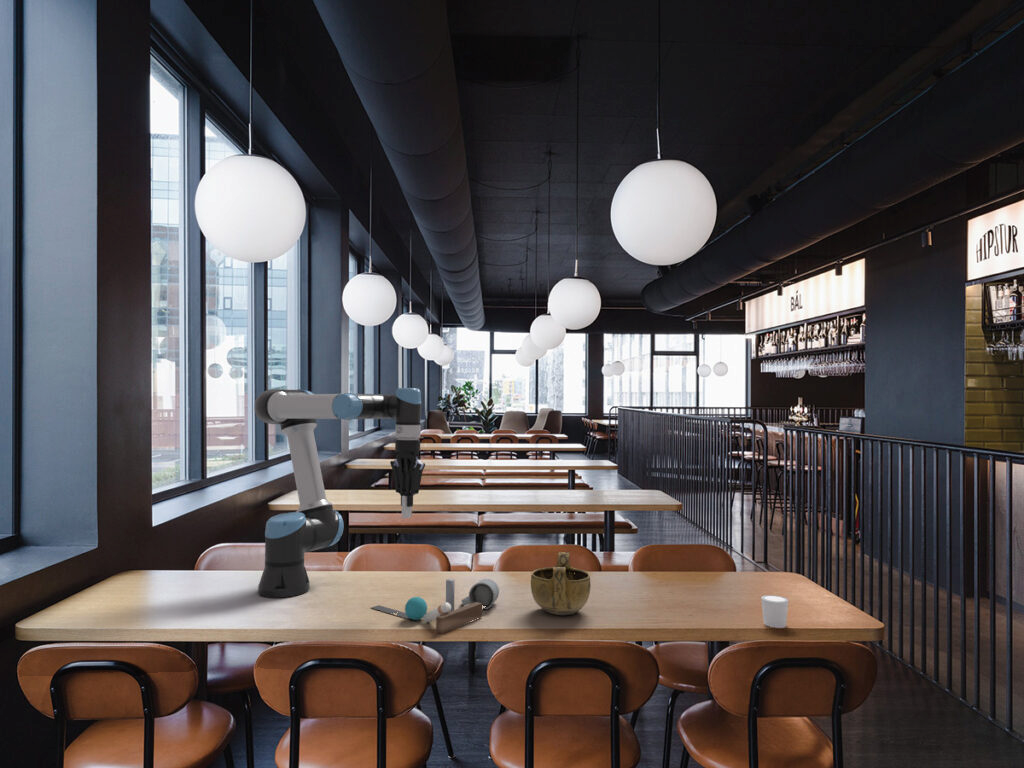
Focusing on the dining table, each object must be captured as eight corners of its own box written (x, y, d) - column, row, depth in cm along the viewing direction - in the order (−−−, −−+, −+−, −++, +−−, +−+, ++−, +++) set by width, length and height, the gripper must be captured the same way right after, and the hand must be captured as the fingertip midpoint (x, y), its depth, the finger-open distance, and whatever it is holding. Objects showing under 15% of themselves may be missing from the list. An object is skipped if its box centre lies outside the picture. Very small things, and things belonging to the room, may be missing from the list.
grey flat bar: (370, 608, 186) (370, 607, 186) (378, 605, 188) (378, 605, 188) (410, 620, 176) (410, 619, 176) (418, 617, 178) (418, 616, 178)
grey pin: (443, 612, 182) (444, 580, 183) (449, 610, 184) (450, 578, 185) (450, 614, 181) (450, 581, 181) (455, 612, 183) (456, 580, 183)
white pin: (421, 615, 174) (442, 603, 169) (428, 612, 176) (449, 601, 171) (424, 624, 173) (446, 612, 168) (431, 621, 175) (452, 610, 170)
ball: (419, 615, 172) (406, 626, 174) (435, 609, 176) (423, 620, 179) (408, 595, 174) (397, 606, 177) (425, 590, 179) (413, 601, 182)
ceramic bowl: (589, 627, 172) (589, 570, 172) (525, 623, 174) (526, 567, 175) (591, 602, 194) (591, 551, 194) (534, 598, 196) (535, 549, 197)
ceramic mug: (500, 602, 192) (500, 576, 193) (494, 611, 184) (494, 583, 185) (465, 600, 195) (465, 574, 195) (458, 609, 186) (458, 582, 187)
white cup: (756, 620, 179) (756, 594, 179) (780, 620, 180) (780, 594, 180) (768, 629, 172) (768, 602, 172) (793, 628, 173) (793, 602, 173)
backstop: (436, 632, 167) (436, 616, 167) (476, 616, 179) (476, 601, 180) (441, 634, 165) (442, 618, 166) (481, 618, 178) (482, 603, 178)
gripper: (383, 438, 197) (382, 516, 197) (414, 440, 189) (412, 521, 189) (402, 437, 203) (400, 513, 203) (432, 439, 195) (430, 518, 195)
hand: (406, 517), depth 196 cm, fingers closed
